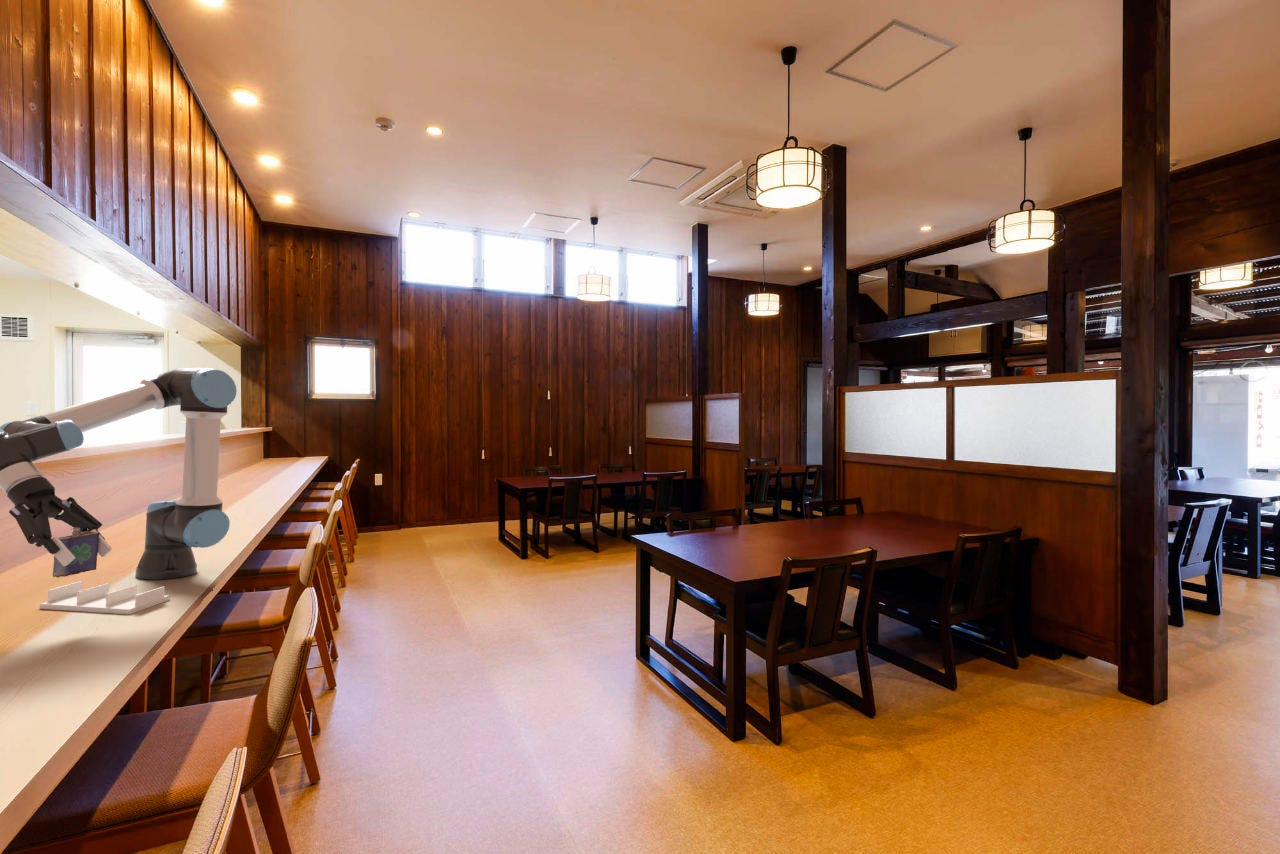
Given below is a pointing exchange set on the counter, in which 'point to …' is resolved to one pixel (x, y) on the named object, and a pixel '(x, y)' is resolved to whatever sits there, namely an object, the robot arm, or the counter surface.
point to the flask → (78, 553)
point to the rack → (102, 599)
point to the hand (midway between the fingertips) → (89, 557)
